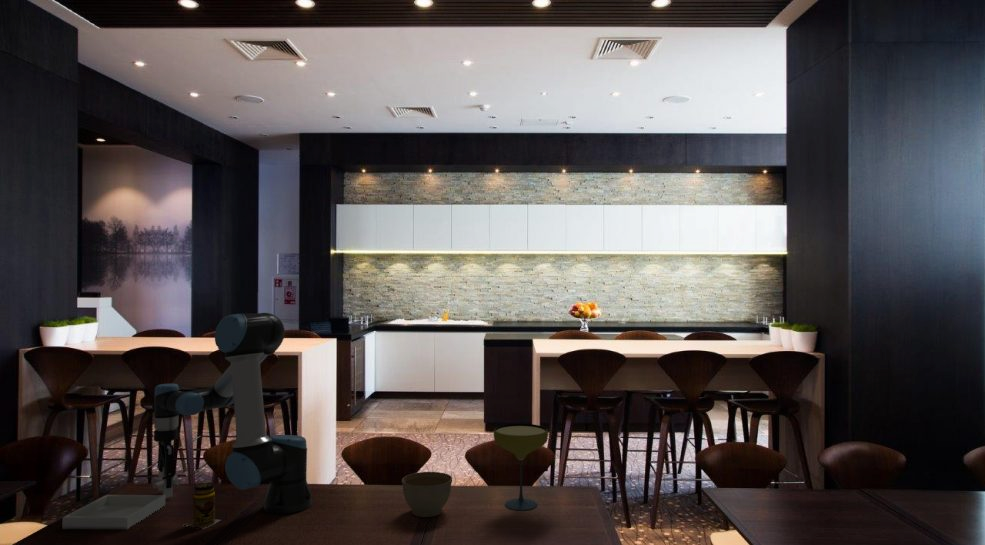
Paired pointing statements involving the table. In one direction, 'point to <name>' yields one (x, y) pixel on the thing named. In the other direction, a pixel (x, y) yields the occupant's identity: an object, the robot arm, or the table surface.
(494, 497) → the table surface
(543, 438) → the cocktail glass
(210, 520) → the condiment
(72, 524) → the tray
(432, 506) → the planter bowl
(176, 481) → the pipe connector
